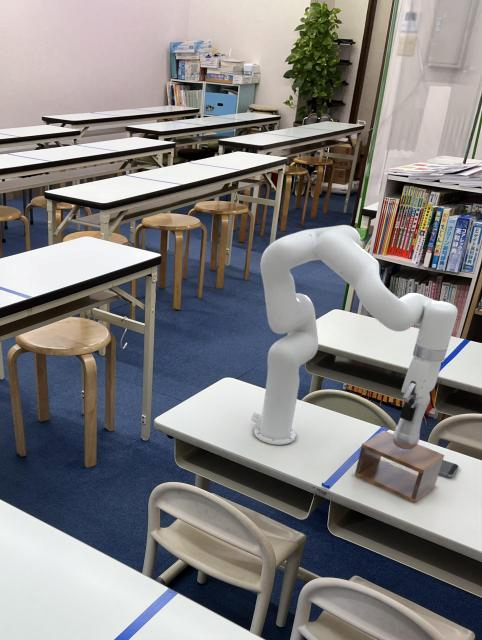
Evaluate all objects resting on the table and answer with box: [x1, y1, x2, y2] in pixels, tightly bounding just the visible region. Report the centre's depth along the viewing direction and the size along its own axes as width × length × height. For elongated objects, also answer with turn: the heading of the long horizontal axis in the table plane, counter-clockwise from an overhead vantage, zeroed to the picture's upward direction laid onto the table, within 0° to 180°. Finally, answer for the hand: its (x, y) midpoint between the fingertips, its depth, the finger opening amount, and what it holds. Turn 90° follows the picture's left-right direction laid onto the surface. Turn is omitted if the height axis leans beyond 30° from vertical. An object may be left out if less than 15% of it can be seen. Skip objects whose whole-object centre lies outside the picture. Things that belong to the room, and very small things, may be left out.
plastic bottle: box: [392, 392, 431, 449], centre depth 183 cm, size 6×7×20 cm
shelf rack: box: [354, 430, 445, 504], centre depth 191 cm, size 18×12×10 cm, turn 44°
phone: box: [438, 459, 459, 479], centre depth 202 cm, size 8×1×16 cm
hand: (412, 414), depth 183 cm, fingers closed on plastic bottle, 6 cm apart
